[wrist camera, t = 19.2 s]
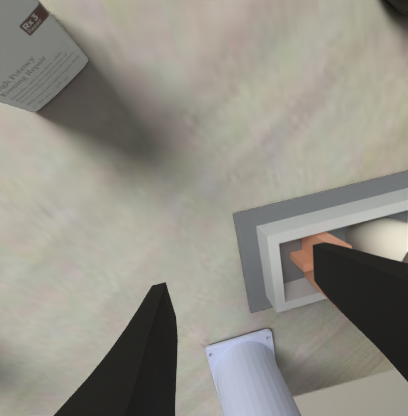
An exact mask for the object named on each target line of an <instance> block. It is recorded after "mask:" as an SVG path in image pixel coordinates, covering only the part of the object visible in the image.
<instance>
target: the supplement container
mask: <svg viewBox="0 0 408 416" xmlns="http://www.w3.org/2000/svg"><path fill="white" fill-rule="evenodd" d="M388 2H389V3H390V4H391V5H392V6H393V7H394V8H395V9H396V10H397V11H399V12H400V13H402V14H404V15H407V16H408V0H388Z"/></svg>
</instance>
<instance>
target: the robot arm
mask: <svg viewBox="0 0 408 416" xmlns="http://www.w3.org/2000/svg"><path fill="white" fill-rule="evenodd" d="M313 268H314V281H315V282H316V284H317V285H318V286H319V288H320V289H321V290H322V292H323V293H324V294H325V295H326V296H327V298H328V299H329V300H330V301H331V302H332V303H333V304H334V305H335V306H336V307H337V308H338V309H339V310H340V311H341V312H342V313H343V314H344V315H345V316H346V317H347V318H348V319H349V320H350V321H351V322H352V323H353V324H354V325H355V326H356V327H357V328H358V329H359V330H360V331H361V332H362V333H363V334H364V335H365V336H366V337H367V338H368V339H370V340H371V341H372V342H373V343H374V344H375V346H376V347H377V348H378V349H379V350H380V351H381V352H382V353H383V354H384V355H385V356H386V357H387V358H388V360H389V361H390V362H391V363H392V364H393V365H394V366H395V368H396V369H397V370H398V371H399V372H400V373H401V374H402V376H403V377H404V378H405V379H406V380H407V381H408V263H405V262H401V261H397V260H393V259H389V258H385V257H381V256H377V255H373V254H370V253H366V252H362V251H359V250H355V249H351V248H348V247H344V246H340V245H336V244H332V243H327V242H323V243H319V244H315V245H313ZM177 343H178V339H177V324H176V316H175V312H174V309H173V306H172V302H171V299H170V296H169V292H168V289H167V285H166V282H165V283H161V284H157V285H153V286H152V287H151V289H150V290H149V292H148V293H147V295H146V297H145V298H144V300H143V302H142V303H141V305H140V307H139V308H138V310H137V312H136V313H135V315H134V316H133V318H132V319H131V321H130V323H129V324H128V326H127V327H126V329H125V330H124V331H123V333H122V334H121V336H120V337H119V339H118V340H117V341H116V343H115V344H114V346H113V347H112V348H111V350H110V351H109V352H108V354H107V355H106V356H105V358H104V359H103V360H102V361H101V362H100V364H99V365H98V366H97V367H96V369H95V370H94V371H93V372H92V373H91V375H90V376H89V377H88V378H87V379H86V381H85V382H84V383H83V384H82V385H81V386H80V387H79V388H78V389H77V390H76V392H75V393H74V394H73V395H72V396H71V397H70V398H69V399H68V400H67V402H66V403H65V404H64V405H63V406H62V407H61V408H60V409H59V410H58V411H57V413H56V414H55V415H54V416H175V393H176V369H177ZM206 354H207V358H208V361H209V365H210V368H211V372H212V376H213V379H214V383H215V387H216V390H217V394H218V397H219V401H220V403H221V408H222V414H223V416H301V414H300V412H299V410H298V408H297V406H296V404H295V401H294V399H293V397H292V395H291V393H290V391H289V389H288V387H287V385H286V382H285V380H284V378H283V376H282V374H281V372H280V370H279V368H278V366H277V364H276V358H275V351H274V344H273V337H272V332H271V330H270V329H264V330H260V331H257V332H253V333H250V334H246V335H243V336H240V337H236V338H233V339H229V340H226V341H222V342H219V343H216V344H212V345H209V346H207V347H206Z"/></svg>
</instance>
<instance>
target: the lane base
mask: <svg viewBox="0 0 408 416" xmlns="http://www.w3.org/2000/svg"><path fill="white" fill-rule="evenodd" d="M383 216H388V217H391V218H394V219H398V220H401V221H404V222H407V223H408V170H407V171H403V172H399V173H395V174H391V175H387V176H383V177H379V178H375V179H371V180H367V181H363V182H359V183H355V184H351V185H346V186H342V187H338V188H334V189H330V190H326V191H322V192H318V193H314V194H310V195H306V196H302V197H298V198H294V199H290V200H286V201H281V202H277V203H273V204H269V205H265V206H261V207H257V208H253V209H249V210H245V211H241V212H237V213H233V218H234V224H235V229H236V235H237V241H238V246H239V252H240V258H241V263H242V269H243V275H244V280H245V286H246V291H247V297H248V303H249V308H250V312H251V313H254V312H257V311H261V310H264V309H268V308H271V307H273V308H274V309H275V311H276V313H279V312H282V311H286V310H289V309H293V308H296V307H300V306H303V305H307V304H310V303H314V302H317V301H320V300H324V299H327V298H326V297H325V296H324V295H323V294H322V293H321V292H320V291H319V290H318V289H317V288H316V287H314V286H313V285H312V284H311V283H310V282H309V281H308V280H307V279H306V278H305V277H304V272H303V271H302V270H301V269H300V268H299V267H298V266H297V265H296V264H295V263H294V262H293V261H292V260H290V253H291V252H295V251H298V250H302V241H301V238H303V237H306V236H310V235H314V234H318V233H322V232H327V233H329V234H331V235H332V236H334V237H336V238H338V239H340V240H342V241H344V242H345V234H346V231H347V229H348V227H349V225H352V224H356V223H360V222H364V221H368V220H371V219H375V218H379V217H383Z"/></svg>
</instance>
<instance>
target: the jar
mask: <svg viewBox="0 0 408 416" xmlns="http://www.w3.org/2000/svg"><path fill="white" fill-rule="evenodd" d="M345 242H346V243H347V244H349V245H351V246H352V249H355V250H359V251H362V252H366V253H370V254H373V255H377V256H381V257H385V258H389V259H393V260H397V261H401V262H405V263H408V223H407V222H404V221H401V220H398V219H394V218H391V217H388V216H383V217H379V218H375V219H371V220H368V221H364V222H360V223H356V224H352V225H349V227H348V229H347V231H346V234H345Z"/></svg>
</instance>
